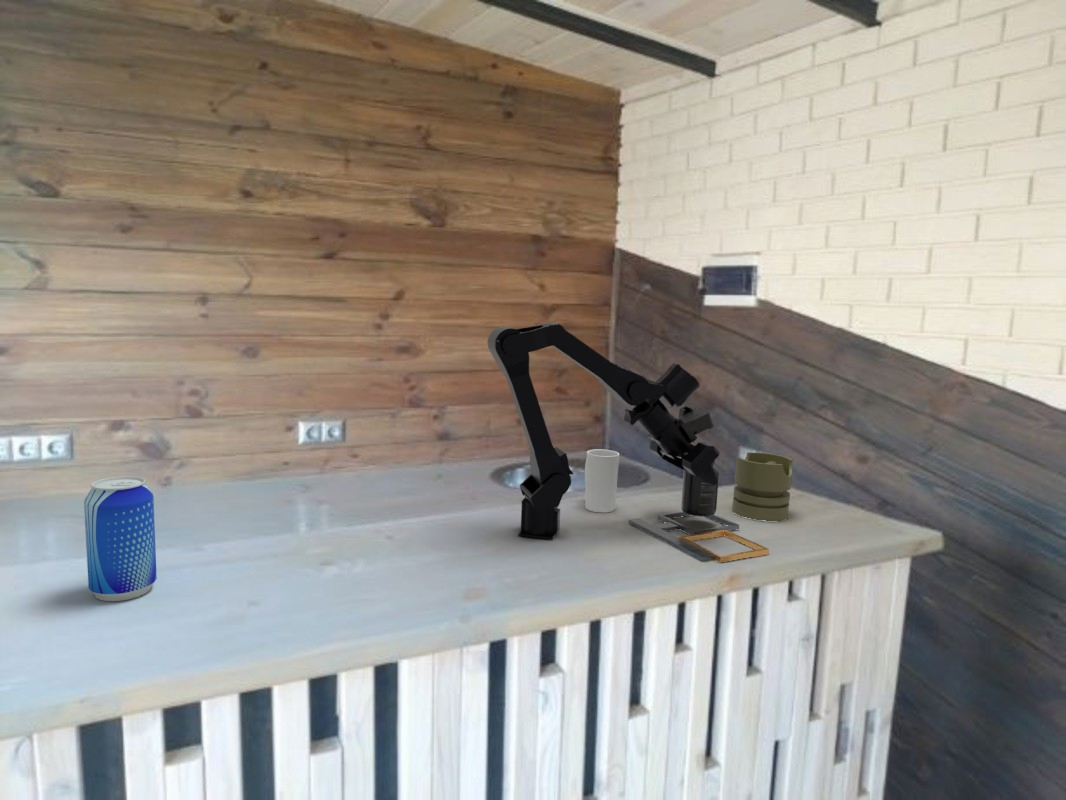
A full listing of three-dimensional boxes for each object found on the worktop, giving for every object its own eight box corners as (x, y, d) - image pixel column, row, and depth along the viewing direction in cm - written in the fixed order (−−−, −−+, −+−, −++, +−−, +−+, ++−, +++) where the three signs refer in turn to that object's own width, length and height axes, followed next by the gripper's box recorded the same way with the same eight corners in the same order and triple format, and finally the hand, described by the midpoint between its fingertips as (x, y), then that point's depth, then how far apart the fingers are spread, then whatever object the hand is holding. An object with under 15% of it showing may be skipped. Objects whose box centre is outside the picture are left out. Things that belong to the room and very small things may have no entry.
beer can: (109, 609, 96) (103, 494, 94) (77, 593, 101) (70, 483, 98) (169, 588, 104) (165, 481, 101) (136, 575, 108) (132, 471, 106)
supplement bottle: (717, 509, 144) (722, 451, 143) (714, 519, 138) (719, 458, 136) (682, 505, 147) (687, 447, 145) (678, 514, 140) (683, 454, 139)
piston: (728, 457, 149) (748, 450, 158) (723, 513, 151) (744, 502, 160) (782, 467, 143) (800, 458, 151) (776, 525, 144) (795, 513, 153)
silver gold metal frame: (708, 565, 121) (709, 559, 121) (628, 523, 142) (628, 518, 142) (787, 551, 130) (788, 545, 129) (700, 513, 150) (701, 508, 150)
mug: (622, 511, 150) (625, 455, 148) (594, 514, 147) (597, 457, 145) (597, 498, 158) (600, 445, 157) (570, 501, 156) (573, 447, 154)
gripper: (714, 402, 129) (762, 461, 134) (668, 388, 147) (711, 441, 151) (671, 445, 128) (720, 504, 133) (629, 426, 146) (674, 478, 150)
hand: (707, 479), depth 142 cm, fingers closed on supplement bottle, 7 cm apart
